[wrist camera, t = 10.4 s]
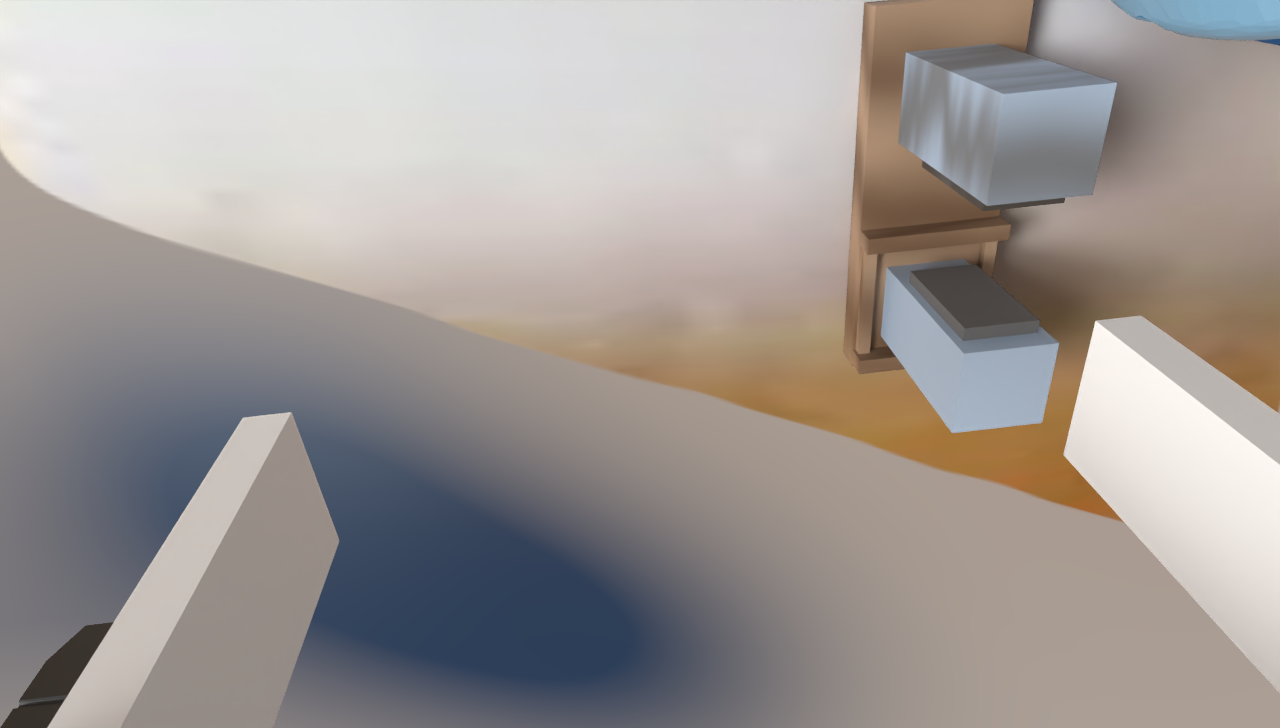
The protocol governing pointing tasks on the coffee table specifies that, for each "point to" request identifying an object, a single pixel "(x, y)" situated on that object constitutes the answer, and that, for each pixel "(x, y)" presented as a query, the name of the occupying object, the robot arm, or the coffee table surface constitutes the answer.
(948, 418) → the block
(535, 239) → the coffee table surface
